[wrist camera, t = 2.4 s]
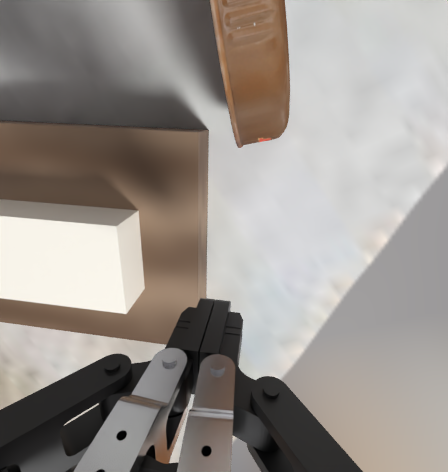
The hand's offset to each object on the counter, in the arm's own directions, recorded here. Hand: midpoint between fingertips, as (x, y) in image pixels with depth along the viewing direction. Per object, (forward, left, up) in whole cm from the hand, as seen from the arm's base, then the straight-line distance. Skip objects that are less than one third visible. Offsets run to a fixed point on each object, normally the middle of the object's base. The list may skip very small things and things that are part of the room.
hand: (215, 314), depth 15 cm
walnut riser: (0, -11, -9) cm, 14 cm away
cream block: (0, -11, -6) cm, 13 cm away
